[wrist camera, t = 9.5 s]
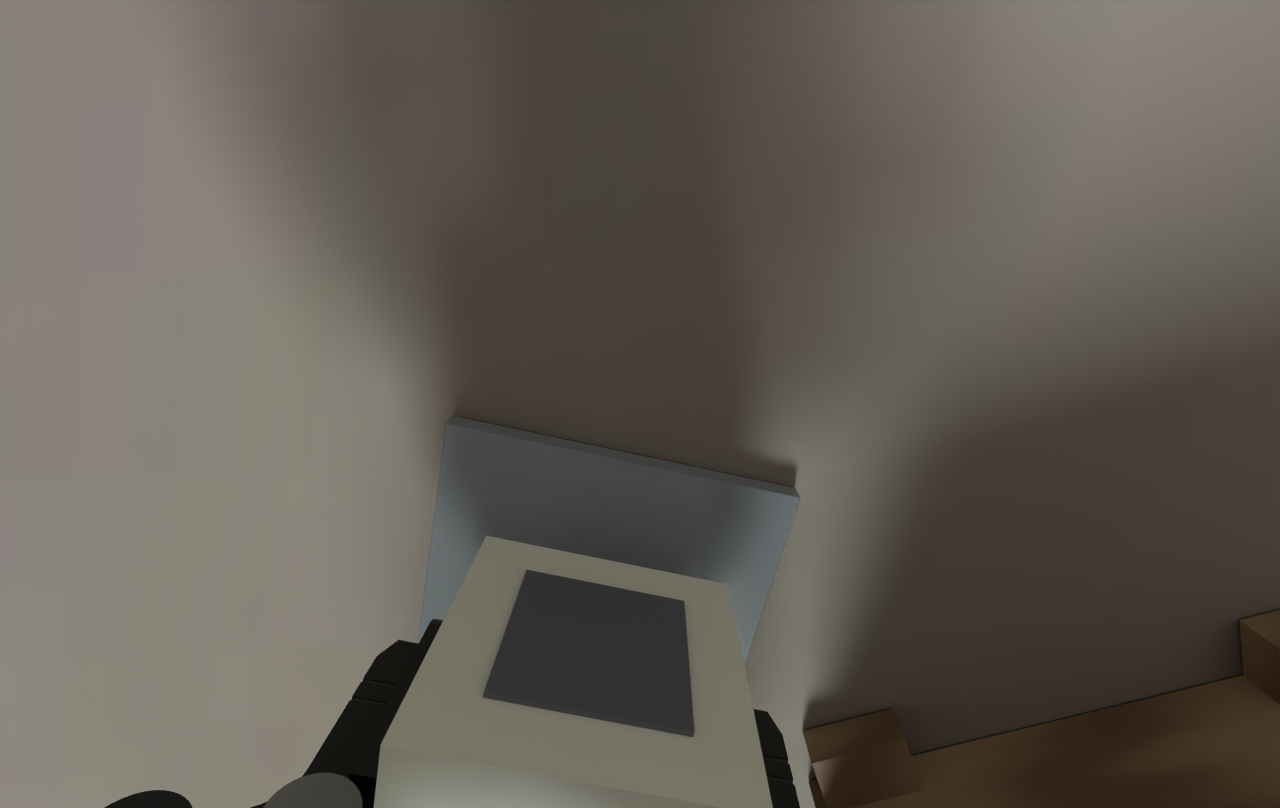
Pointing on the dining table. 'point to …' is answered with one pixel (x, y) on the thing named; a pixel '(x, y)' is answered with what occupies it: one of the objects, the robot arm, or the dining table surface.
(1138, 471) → the dining table surface
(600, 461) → the slate coaster
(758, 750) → the white marker cube
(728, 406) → the dining table surface
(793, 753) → the dining table surface
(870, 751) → the walnut screen
